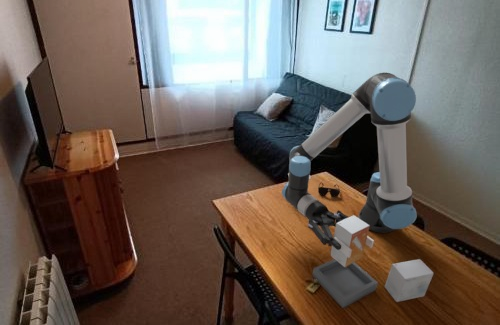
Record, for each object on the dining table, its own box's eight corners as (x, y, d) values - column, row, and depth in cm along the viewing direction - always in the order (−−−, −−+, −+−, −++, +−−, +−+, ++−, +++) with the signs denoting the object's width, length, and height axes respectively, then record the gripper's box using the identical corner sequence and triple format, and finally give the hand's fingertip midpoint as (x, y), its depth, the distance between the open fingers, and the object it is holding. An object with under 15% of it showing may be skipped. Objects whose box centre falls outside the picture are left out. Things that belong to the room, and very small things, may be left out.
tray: (343, 261, 108) (345, 254, 107) (375, 290, 97) (377, 282, 95) (312, 275, 102) (313, 268, 100) (342, 308, 91) (344, 300, 89)
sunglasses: (317, 195, 149) (318, 186, 147) (318, 186, 160) (319, 178, 158) (339, 199, 146) (340, 189, 145) (338, 189, 157) (339, 181, 156)
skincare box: (397, 303, 93) (405, 278, 88) (384, 286, 98) (391, 263, 94) (425, 297, 95) (434, 272, 90) (411, 281, 101) (419, 257, 96)
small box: (345, 268, 91) (352, 234, 85) (329, 255, 96) (335, 222, 90) (362, 258, 95) (370, 225, 89) (347, 246, 100) (353, 214, 94)
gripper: (334, 210, 112) (383, 247, 94) (287, 226, 103) (332, 270, 85) (337, 193, 109) (388, 228, 91) (289, 208, 100) (336, 250, 82)
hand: (361, 249), depth 88 cm, fingers closed on small box, 8 cm apart
